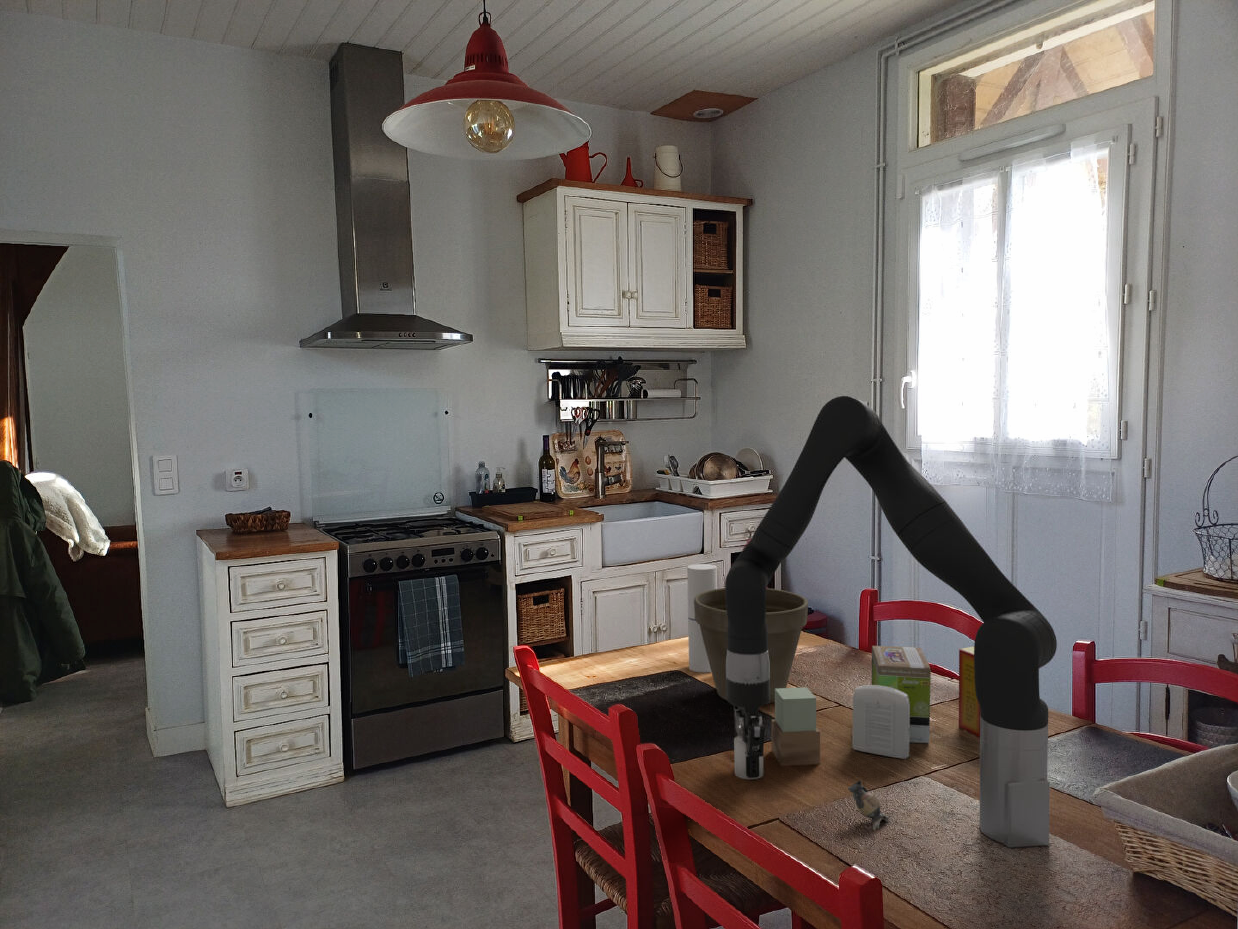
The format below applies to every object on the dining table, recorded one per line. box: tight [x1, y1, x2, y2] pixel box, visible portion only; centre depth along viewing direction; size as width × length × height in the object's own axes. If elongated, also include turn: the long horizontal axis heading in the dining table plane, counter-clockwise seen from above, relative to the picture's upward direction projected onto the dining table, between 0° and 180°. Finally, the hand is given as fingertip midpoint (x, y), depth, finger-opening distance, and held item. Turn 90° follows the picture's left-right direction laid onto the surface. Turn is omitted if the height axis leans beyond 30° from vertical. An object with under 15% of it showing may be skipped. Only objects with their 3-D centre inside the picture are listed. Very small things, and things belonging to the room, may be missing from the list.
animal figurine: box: [847, 780, 890, 832], centre depth 139 cm, size 5×5×6 cm
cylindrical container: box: [686, 563, 718, 673], centre depth 218 cm, size 7×7×25 cm
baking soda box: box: [958, 646, 980, 739], centre depth 175 cm, size 10×6×16 cm
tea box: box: [870, 645, 932, 744], centre depth 176 cm, size 15×10×15 cm
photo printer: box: [851, 684, 910, 760], centre depth 165 cm, size 10×4×12 cm, turn 60°
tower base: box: [770, 718, 821, 767], centre depth 164 cm, size 7×7×6 cm
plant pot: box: [694, 587, 809, 704], centre depth 198 cm, size 25×25×22 cm
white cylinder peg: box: [733, 735, 764, 780], centre depth 157 cm, size 5×5×6 cm
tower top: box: [774, 686, 817, 732], centre depth 163 cm, size 6×6×6 cm
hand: (748, 769), depth 157 cm, fingers closed on white cylinder peg, 5 cm apart
